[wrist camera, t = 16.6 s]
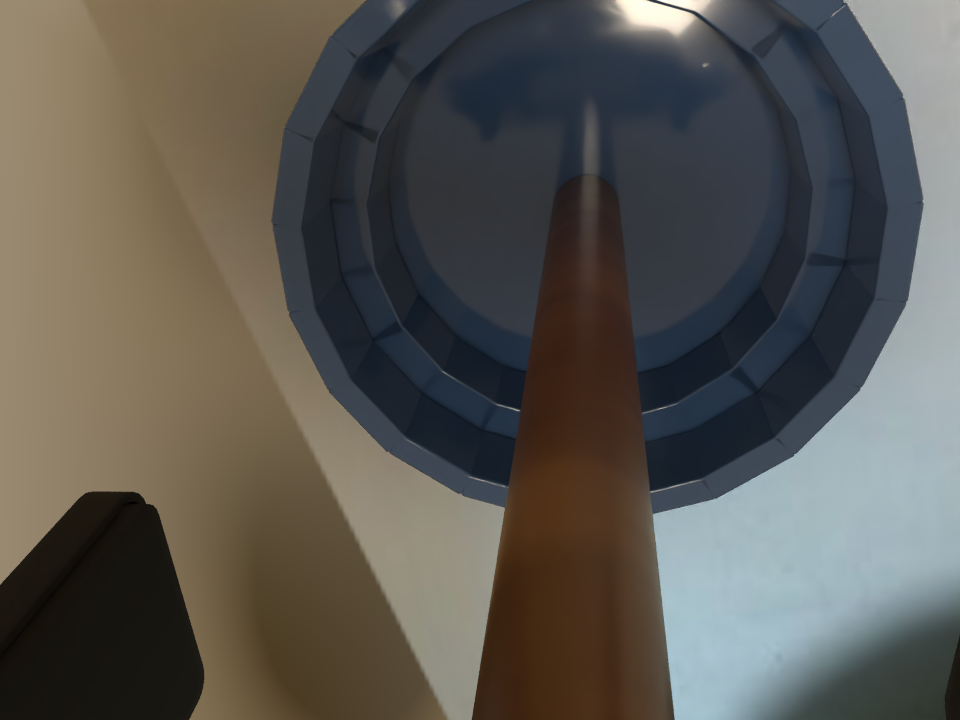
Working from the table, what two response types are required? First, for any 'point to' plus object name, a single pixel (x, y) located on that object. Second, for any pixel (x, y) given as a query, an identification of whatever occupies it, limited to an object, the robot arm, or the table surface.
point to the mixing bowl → (643, 209)
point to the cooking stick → (578, 499)
